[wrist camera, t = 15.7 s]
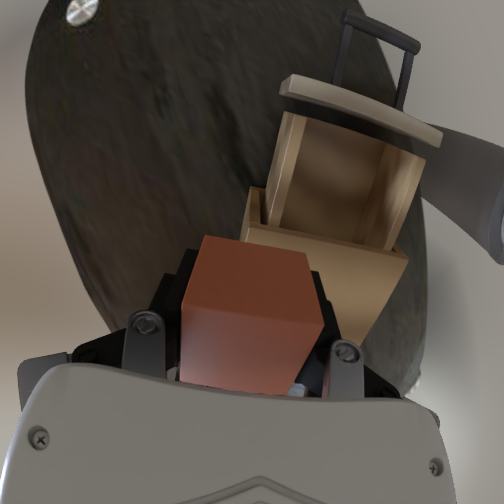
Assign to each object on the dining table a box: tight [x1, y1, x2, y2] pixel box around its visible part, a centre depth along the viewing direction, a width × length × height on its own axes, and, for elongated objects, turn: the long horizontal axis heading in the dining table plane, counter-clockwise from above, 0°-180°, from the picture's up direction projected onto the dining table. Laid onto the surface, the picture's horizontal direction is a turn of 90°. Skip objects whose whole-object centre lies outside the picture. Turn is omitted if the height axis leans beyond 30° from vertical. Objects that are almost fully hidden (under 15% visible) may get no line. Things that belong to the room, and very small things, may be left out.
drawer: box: [260, 8, 443, 251], centre depth 19 cm, size 20×11×7 cm, turn 168°
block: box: [180, 235, 324, 395], centre depth 11 cm, size 4×4×4 cm
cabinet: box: [239, 186, 409, 347], centre depth 26 cm, size 15×13×9 cm
